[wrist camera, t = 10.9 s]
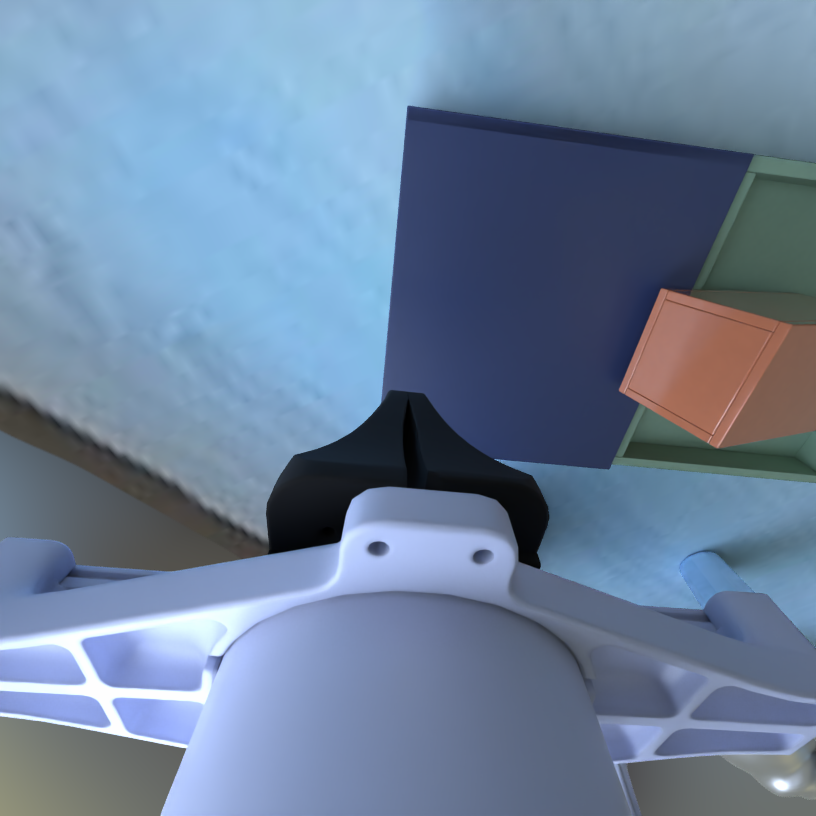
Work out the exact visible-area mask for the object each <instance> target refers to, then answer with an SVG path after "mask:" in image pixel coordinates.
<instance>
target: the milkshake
mask: <svg viewBox="0 0 816 816" xmlns="http://www.w3.org/2000/svg"><path fill="white" fill-rule="evenodd" d="M680 573H681V575H682V577H683V578H684V580H685V582H686V583H687V585H688V587H689V588H690V590H691V591H692V593H693V595H694V596H695V598H696V600H697V601H698V603H699V604H700V606H701V608H702V609H704V607H705V605H706V603H707V602H708V600H709V599H710V598H711V597H712V596H713V595H715V594H716V593H719V592H722V591H737V592H751V593H755V592H754V591H753V590H752V589H751V588H750V587H749V586H748V585H747V584H746V583H745V582H744V581H743V580H742V579H741V578H740V576H739V575H738V574H737V573H736V572H735V571H734V570H733V569H732V568H731V567H730V566H729V565H728V564H727V563H726V562H725V561H724V560H723V559H722V558H721V557H719V556H718V555H717V554H716V553H715V552H703V551H702V552H699V553H696V554H693V555H690V556H689V557H687V558H686V559H685V560H684V561H683V562H682V563H681V565H680Z"/></svg>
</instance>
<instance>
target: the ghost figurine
mask: <svg viewBox="0 0 816 816" xmlns="http://www.w3.org/2000/svg"><path fill="white" fill-rule="evenodd" d="M720 756H722V757H723V758H724V759H726V760H727V761H728V762H730V763H731V764H733V765H734V766H736V767H738V768H739V769H741V770H743V771H745V772H747V773H749V774H750V775H752V776H753V777H754V778H755V779H756V780H757V781H758V782H759V783H760V784H761V785H762V786H764V787H765V788H766V789H768V790H769V791H770V792H772V793H773V794H775V795H778V796H780V797H794V796H801V797H803V798H805V799H810V800H814V799H816V741H815V740H814V738H813V739H812V740H811V741H809V742H808V743H806V744H805V745H804V746H802V747H801V748H800V749H798V750H797V751H795V752H794V753H793V754H791V755H765V754H736V755H720Z"/></svg>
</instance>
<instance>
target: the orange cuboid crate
mask: <svg viewBox="0 0 816 816" xmlns="http://www.w3.org/2000/svg"><path fill="white" fill-rule="evenodd" d="M619 391H620V392H622V393H623V394H625V395H627V396H628V397H630V398H632V399H633V400H635V401H637V402H639V403H640V404H642V405H644V406H645V407H647V408H649V409H650V410H652V411H654V412H656V413H657V414H659V415H661V416H662V417H664V418H666V419H667V420H669V421H671V422H673V423H674V424H676V425H678V426H679V427H681V428H683V429H685V430H686V431H688V432H690V433H691V434H693V435H695V436H696V437H698V438H700V439H702V440H703V441H705V442H707V443H709V444H710V445H712V446H713V447H715V448H717V449H719V448H725V447H730V446H736V445H741V444H747V443H752V442H758V441H763V440H769V439H774V438H780V437H785V436H791V435H796V434H802V433H807V432H813V431H816V297H812V296H808V295H803V294H799V293H794V292H767V291H736V290H704V289H673V288H661V290H660V292H659V295H658V297H657V299H656V302H655V304H654V307H653V309H652V311H651V314H650V316H649V319H648V321H647V323H646V326H645V328H644V331H643V333H642V335H641V338H640V340H639V343H638V345H637V348H636V350H635V352H634V355H633V357H632V360H631V362H630V364H629V367H628V369H627V372H626V374H625V376H624V379H623V381H622V384H621V386H620V388H619Z"/></svg>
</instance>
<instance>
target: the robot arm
mask: <svg viewBox="0 0 816 816" xmlns="http://www.w3.org/2000/svg"><path fill="white" fill-rule="evenodd" d="M266 517H267V528H268V539H269V549H270V550H269V552H268V555H265V556H259V557H253V558H248V559H242V560H237V561H231V562H225V563H219V564H214V565H208V566H202V567H197V568H190V569H185V570H179V571H174V572H167V571H153V570H139V569H125V568H112V567H97V566H84V565H76V563H75V559H74V556H73V553H72V551H71V550H70V549H69V547H68V546H67V545H65V544H63V543H61V542H58V541H54V540H45V539H31V538H18V537H6V538H5V539H4V540H2V541H1V542H0V716H6V717H13V718H21V719H29V720H37V721H43V722H49V723H55V724H62V725H68V726H73V727H79V728H84V729H89V730H94V731H99V732H105V733H110V734H115V735H120V736H126V737H131V738H136V739H141V740H146V741H152V742H157V743H162V744H167V745H172V746H178V747H183V748H187V750H186V752H185V755H184V757H183V760H182V762H181V765H180V767H179V770H178V772H177V775H176V777H175V780H174V782H173V785H172V788H171V790H170V792H169V795H168V797H167V800H166V802H165V805H164V808H163V810H162V812H161V815H160V816H642V815H641V812H640V809H639V806H638V803H637V800H636V796H635V793H634V790H633V787H632V784H631V780H630V777H629V774H628V770H627V763H631V762H640V761H651V760H661V759H672V758H683V757H696V756H710V755H736V754H765V755H791V754H793V753H794V752H795V751H797V750H798V749H800V748H801V747H802V746H804V745H805V744H806V743H808V742H809V741H811V740H812V739H813V738H815V737H816V649H815V648H814V646H813V645H812V644H811V643H810V642H809V641H808V640H807V639H806V638H805V636H804V635H803V634H802V633H801V632H800V631H799V630H798V629H797V627H796V626H795V625H794V624H793V623H792V622H791V621H790V620H789V619H788V617H787V616H786V615H785V614H784V613H783V612H782V611H781V610H780V608H779V607H778V606H777V605H776V604H775V603H774V602H773V601H772V599H771V598H770V597H769V596H768V595H767V594H763V593H751V592H737V591H722V592H719V593H716V594H715V595H713V596H712V597H711V598H710V599H709V600H708V602H707V603H706V605H705V607H704V609H703V610H695V609H681V608H668V607H654V606H640V605H637V604H634V603H631V602H628V601H626V600H623V599H620V598H617V597H614V596H612V595H609V594H606V593H603V592H601V591H598V590H595V589H592V588H590V587H587V586H584V585H581V584H579V583H576V582H573V581H570V580H567V579H565V578H562V577H559V576H556V575H554V574H551V573H548V572H545V571H543V570H540V567H541V563H540V560H539V557H538V554H537V551H538V549H539V546H540V544H541V541H542V539H543V536H544V534H545V531H546V529H547V526H548V521H549V511H548V506H547V504H546V501H545V499H544V497H543V495H542V493H541V490H540V488H539V487H538V485H537V483H536V481H535V480H534V478H533V476H531V475H529V474H526V473H524V472H521V471H518V470H516V469H513V468H511V467H508V466H506V465H504V464H502V463H500V462H498V461H496V460H494V459H492V458H491V457H489V456H487V455H485V454H484V453H482V452H481V451H479V450H478V449H476V448H475V447H473V446H472V445H470V444H469V443H468V442H467V441H465V440H464V439H463V438H462V437H461V436H459V435H458V434H457V433H456V432H455V431H454V430H453V429H452V428H451V427H450V426H449V425H448V424H447V423H446V422H445V421H444V419H443V418H442V417H441V416H440V415H439V413H438V412H437V411H436V409H435V408H434V407H433V405H432V404H431V402H430V401H429V399H428V398H427V396H426V395H425V394H424V393H417V392H407V391H397V390H390V391H389V392H388V393H387V395H386V397H385V399H384V400H383V402H382V403H381V404H380V406H379V407H378V408H377V409H376V410H375V412H374V413H373V414H372V415H371V416H370V417H369V418H368V419H367V420H366V421H365V422H364V423H363V424H362V425H360V426H359V427H358V428H357V429H355V430H354V431H353V432H351V433H350V434H348V435H347V436H345V437H343V438H341V439H340V440H338V441H336V442H333V443H331V444H329V445H326V446H324V447H321V448H318V449H315V450H312V451H308V452H304V453H301V454H296V455H294V456H293V458H292V459H291V460H290V462H289V463H288V465H287V466H286V467H285V469H284V470H283V472H282V473H281V475H280V477H279V478H278V480H277V482H276V484H275V486H274V488H273V491H272V493H271V495H270V498H269V500H268V502H267V510H266Z"/></svg>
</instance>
